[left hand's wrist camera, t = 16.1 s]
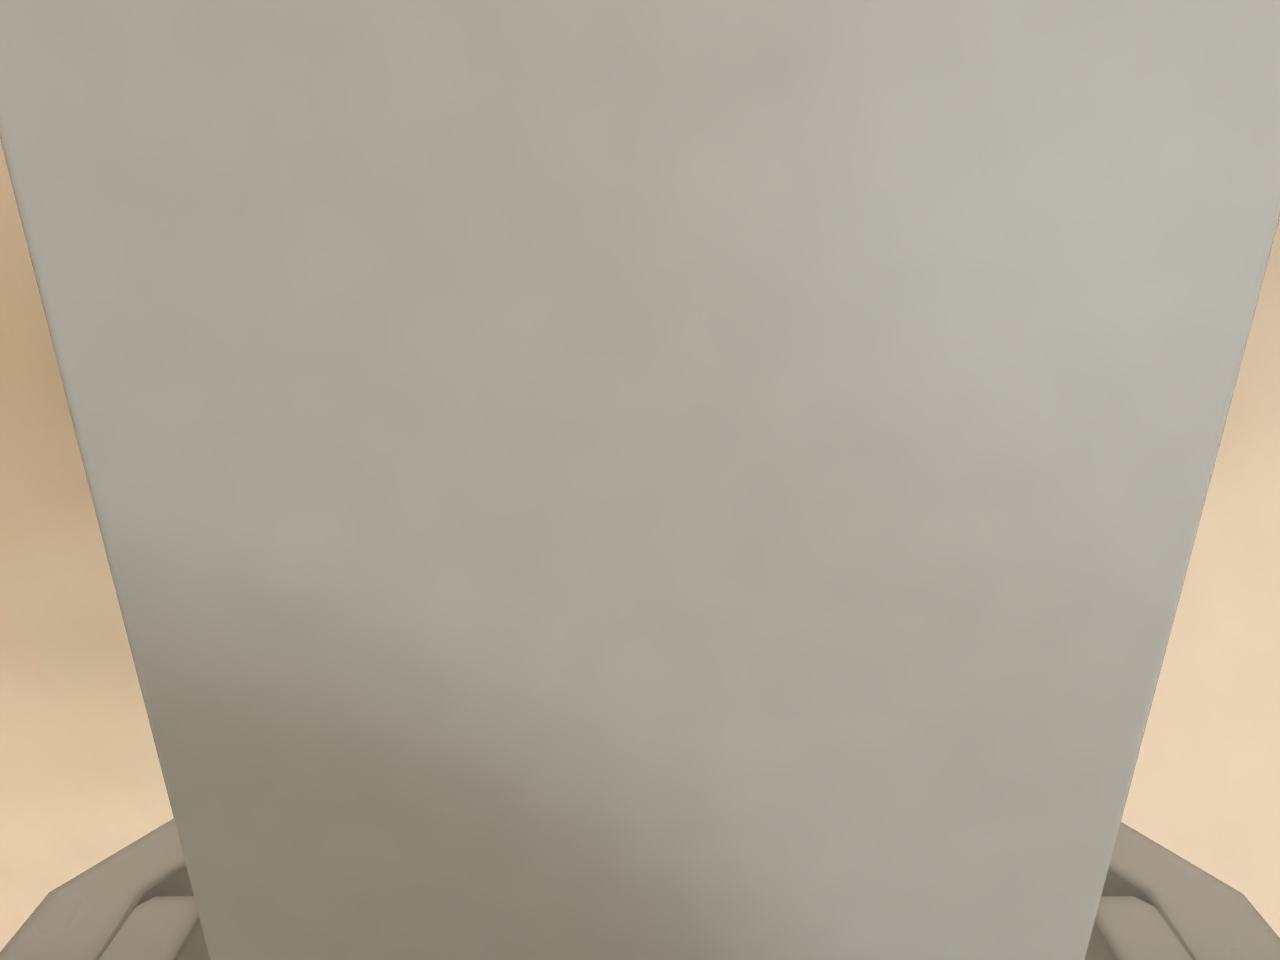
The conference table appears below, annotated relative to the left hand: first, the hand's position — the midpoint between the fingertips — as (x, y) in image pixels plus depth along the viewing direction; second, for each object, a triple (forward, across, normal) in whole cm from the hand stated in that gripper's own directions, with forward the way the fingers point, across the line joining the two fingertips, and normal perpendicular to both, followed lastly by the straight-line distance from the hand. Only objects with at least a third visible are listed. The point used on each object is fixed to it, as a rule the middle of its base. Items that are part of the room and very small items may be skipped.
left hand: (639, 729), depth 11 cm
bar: (+3, 0, -7) cm, 8 cm away
